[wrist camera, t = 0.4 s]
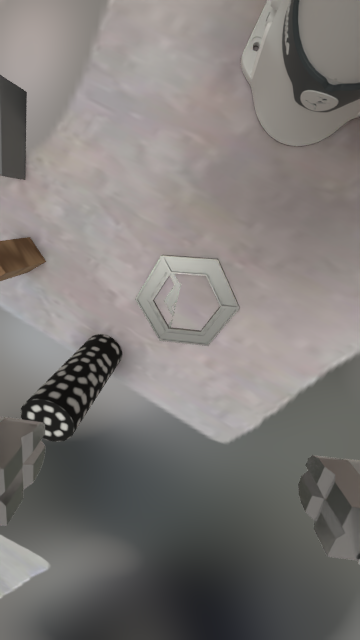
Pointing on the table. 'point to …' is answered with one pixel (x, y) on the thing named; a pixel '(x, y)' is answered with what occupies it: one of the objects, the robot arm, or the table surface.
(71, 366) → the spotted tube
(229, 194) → the table surface
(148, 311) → the grey hexagonal ring
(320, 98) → the robot arm
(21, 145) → the block
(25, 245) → the oak block
